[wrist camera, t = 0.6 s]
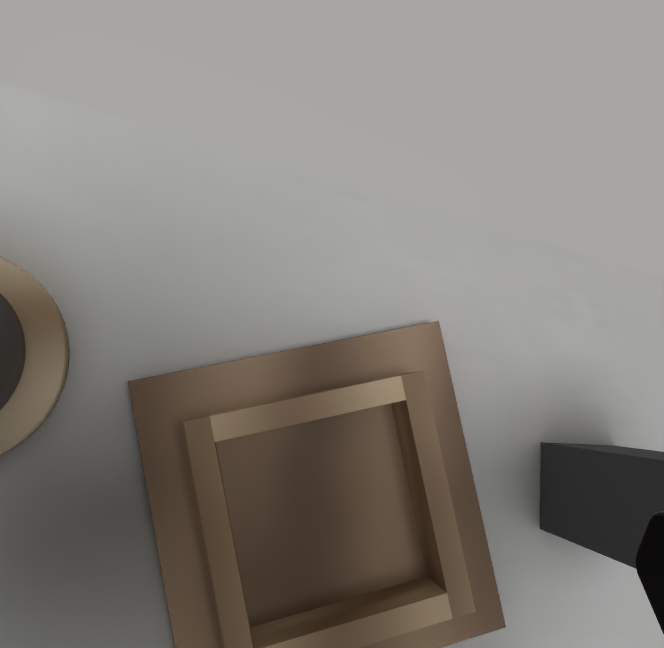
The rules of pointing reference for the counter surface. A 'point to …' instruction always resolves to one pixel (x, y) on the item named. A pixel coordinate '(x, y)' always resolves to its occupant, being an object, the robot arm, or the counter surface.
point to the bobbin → (28, 355)
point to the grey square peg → (600, 495)
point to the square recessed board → (317, 498)
